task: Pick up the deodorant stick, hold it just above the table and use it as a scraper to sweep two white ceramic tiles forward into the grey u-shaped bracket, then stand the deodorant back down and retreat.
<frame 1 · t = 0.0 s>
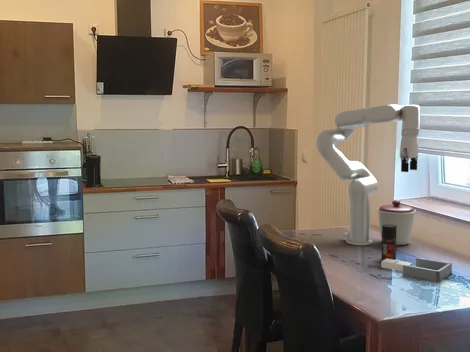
hand: (409, 170, 243), 37 cm above the table, tool pointing down, fingers open, 9 cm apart
tile back: (389, 267, 222), on the table
deodorant: (388, 260, 233), on the table
tile front: (403, 270, 218), on the table
grey u-shaped bracket: (425, 273, 212), on the table
canister: (395, 243, 262), on the table
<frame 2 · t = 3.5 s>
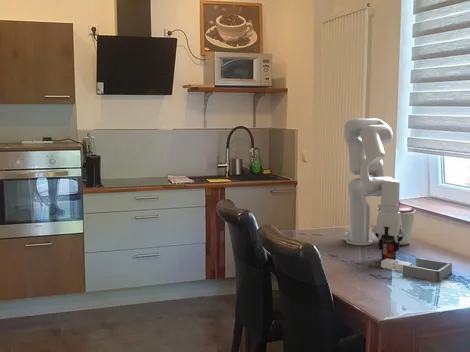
hand: (388, 249, 232), 5 cm above the table, tool pointing down, fingers closed on deodorant, 5 cm apart
deodorant: (388, 260, 233), on the table, touching gripper
everything else where it was.
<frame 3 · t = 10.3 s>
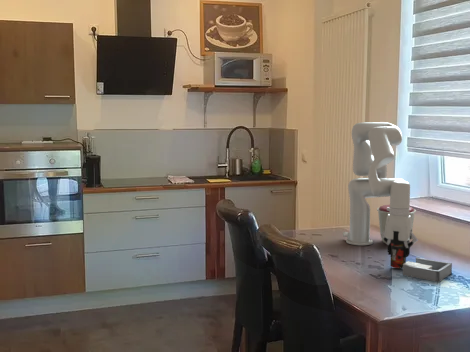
hand: (398, 255, 219), 6 cm above the table, tool pointing down, fingers closed on deodorant, 5 cm apart
tile back: (411, 270, 216), on the table, touching deodorant, tile front
deodorant: (397, 266, 219), point 1 cm above the table, touching gripper, tile back
tile front: (423, 273, 213), on the table, touching tile back
everything else where it was.
when the fingers open (6 cm above the table, at t = 16.5 s): deodorant drops 1 cm, on the table.
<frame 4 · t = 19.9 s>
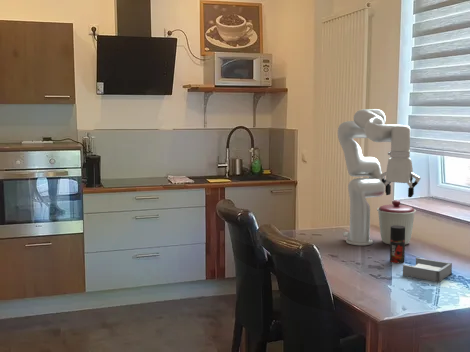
hand: (399, 195, 227), 28 cm above the table, tool pointing down, fingers open, 9 cm apart
tile back: (422, 273, 214), on the table
deodorant: (397, 261, 230), on the table
tile front: (434, 275, 210), on the table
everything else where it was.
at the end: tile front inside the target area on the grey u-shaped bracket (3.3 cm from its centre), point 0.0 cm above the grey u-shaped bracket's base; tile back inside the target area on the grey u-shaped bracket (1.9 cm from its centre), point 0.0 cm above the grey u-shaped bracket's base; deodorant tilted 0° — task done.
